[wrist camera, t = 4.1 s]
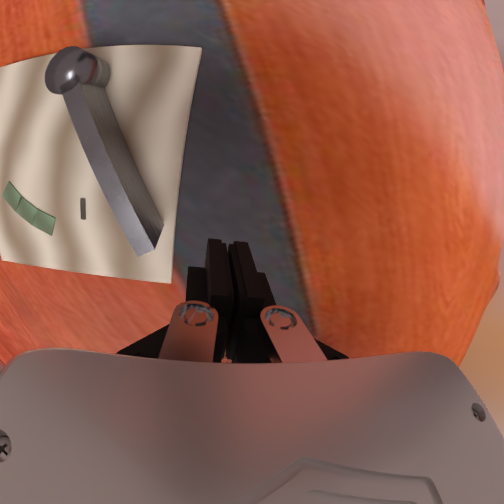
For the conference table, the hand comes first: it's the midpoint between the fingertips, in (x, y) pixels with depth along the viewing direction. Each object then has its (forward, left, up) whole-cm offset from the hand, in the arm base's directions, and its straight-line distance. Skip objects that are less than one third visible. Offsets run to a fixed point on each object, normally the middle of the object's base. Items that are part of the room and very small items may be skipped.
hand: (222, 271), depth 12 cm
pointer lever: (+9, -4, -12) cm, 16 cm away
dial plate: (+14, -2, -14) cm, 20 cm away
